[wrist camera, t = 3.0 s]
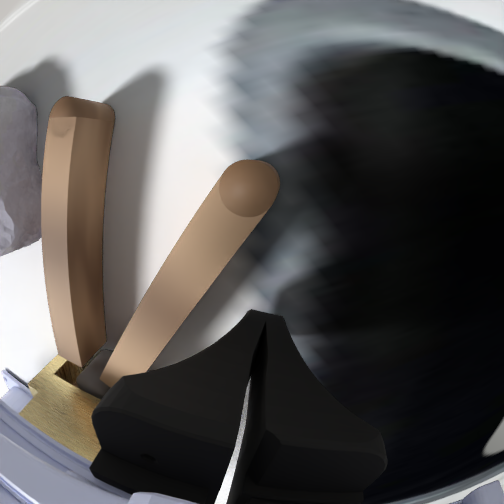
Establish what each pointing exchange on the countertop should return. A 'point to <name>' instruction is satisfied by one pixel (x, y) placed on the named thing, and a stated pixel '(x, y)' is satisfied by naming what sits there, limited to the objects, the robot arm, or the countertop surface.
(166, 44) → the countertop surface
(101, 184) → the tongs fixed
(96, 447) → the yellow block
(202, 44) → the countertop surface
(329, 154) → the countertop surface
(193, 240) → the tong arm
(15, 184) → the stone block
